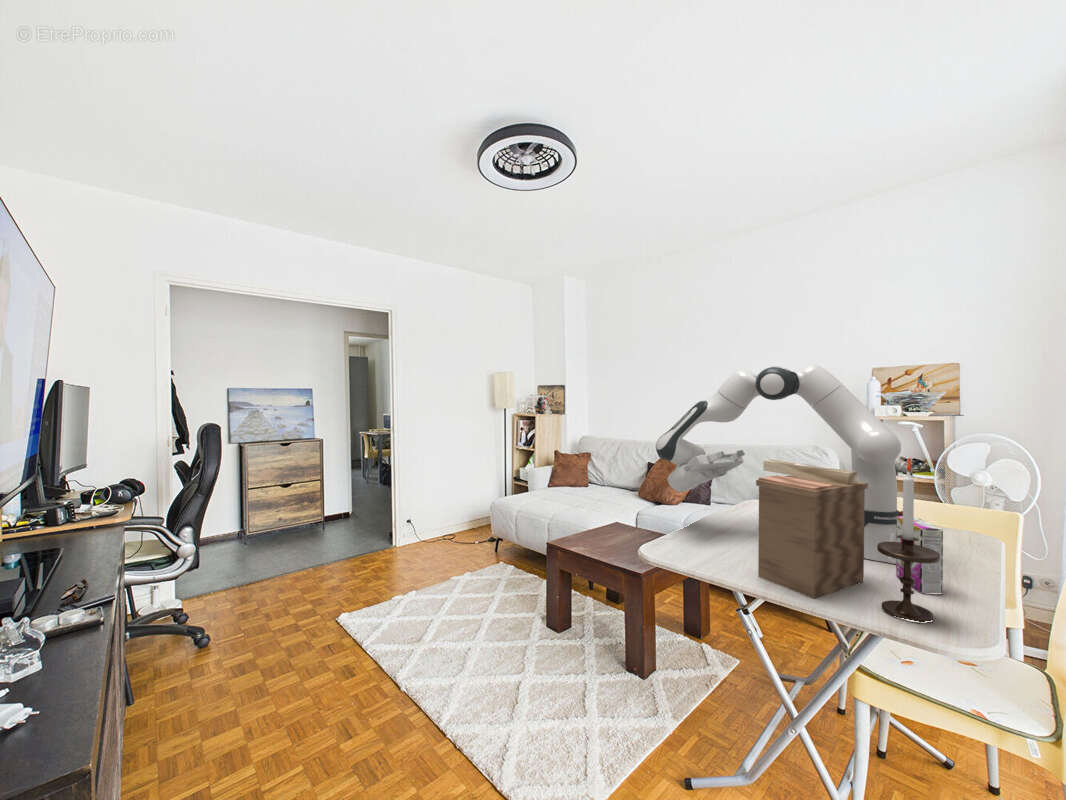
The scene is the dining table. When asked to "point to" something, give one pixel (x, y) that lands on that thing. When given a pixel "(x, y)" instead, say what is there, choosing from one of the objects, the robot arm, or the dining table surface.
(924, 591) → the candy bar box
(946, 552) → the dining table surface
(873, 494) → the robot arm
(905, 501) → the candlestick
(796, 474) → the birch block
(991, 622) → the dining table surface
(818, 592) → the walnut shelf
